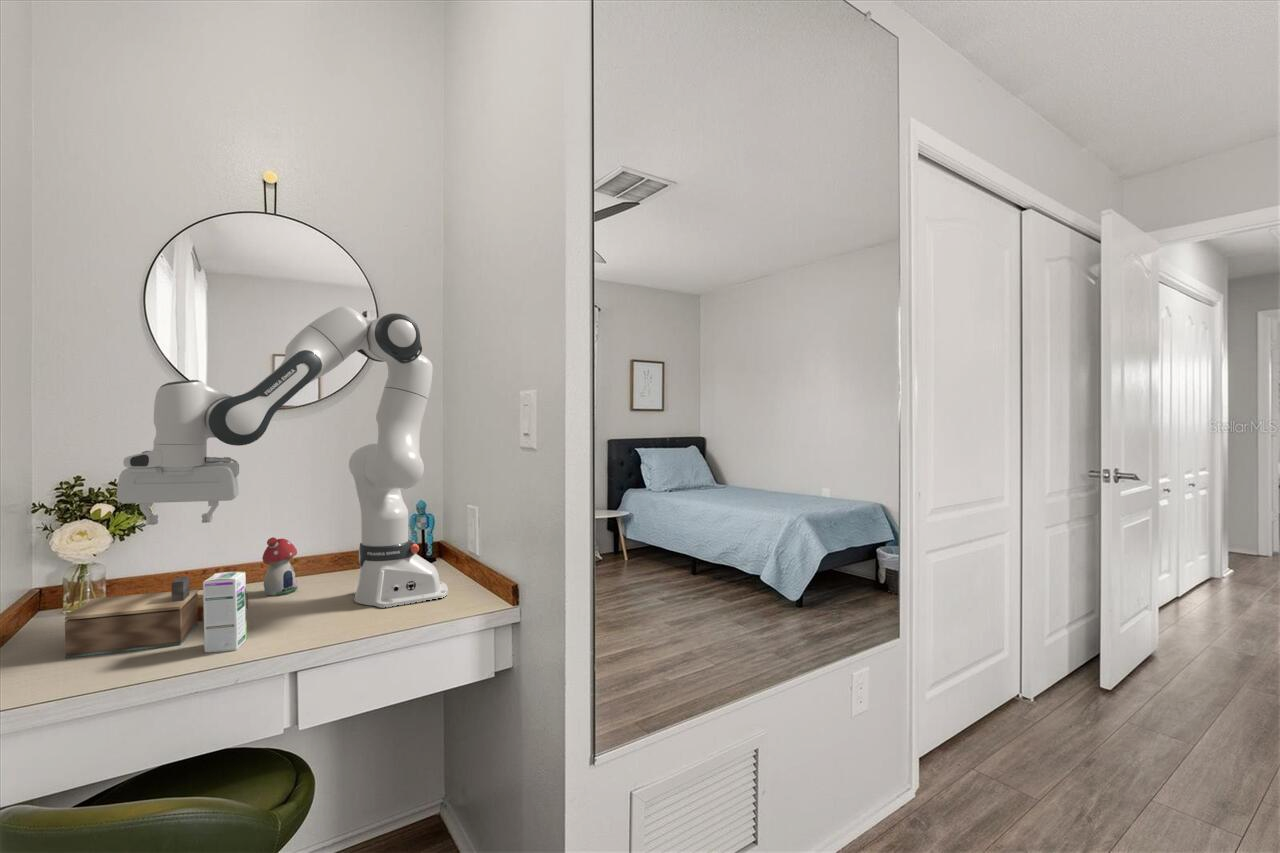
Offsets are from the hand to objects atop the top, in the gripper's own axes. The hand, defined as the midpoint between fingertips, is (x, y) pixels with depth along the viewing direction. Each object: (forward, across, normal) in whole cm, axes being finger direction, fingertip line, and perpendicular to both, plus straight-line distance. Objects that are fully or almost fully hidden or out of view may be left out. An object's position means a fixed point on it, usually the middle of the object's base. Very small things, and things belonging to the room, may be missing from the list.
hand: (180, 523), depth 125 cm
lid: (+17, +7, 0) cm, 18 cm away
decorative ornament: (+24, -15, -26) cm, 38 cm away
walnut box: (+24, +7, 0) cm, 25 cm away
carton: (+24, -1, -13) cm, 28 cm away
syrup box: (+24, -10, +10) cm, 28 cm away
